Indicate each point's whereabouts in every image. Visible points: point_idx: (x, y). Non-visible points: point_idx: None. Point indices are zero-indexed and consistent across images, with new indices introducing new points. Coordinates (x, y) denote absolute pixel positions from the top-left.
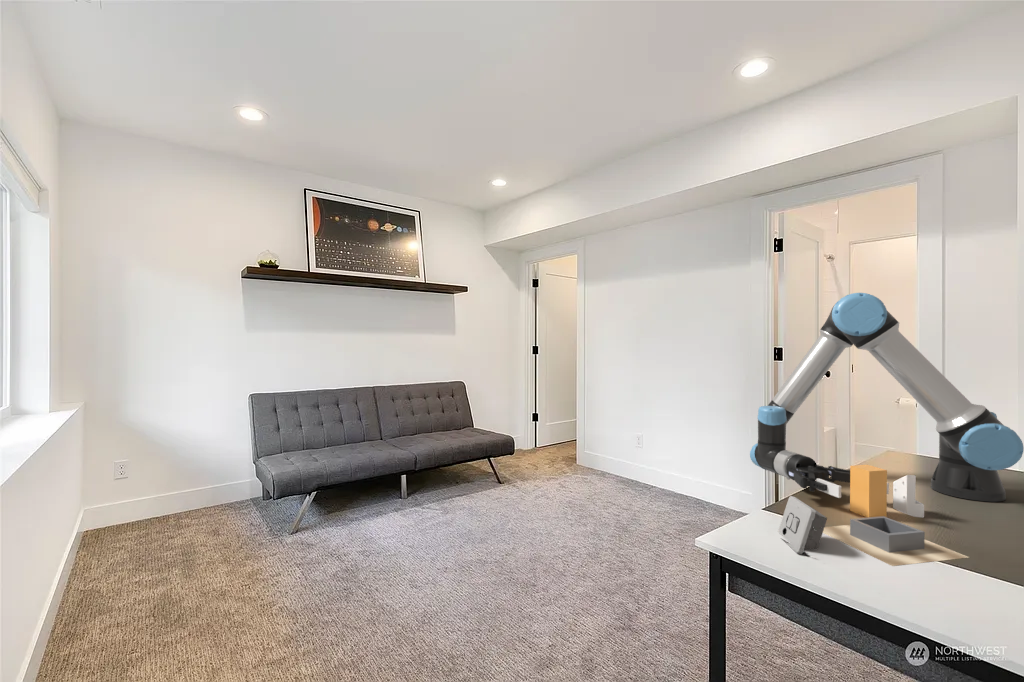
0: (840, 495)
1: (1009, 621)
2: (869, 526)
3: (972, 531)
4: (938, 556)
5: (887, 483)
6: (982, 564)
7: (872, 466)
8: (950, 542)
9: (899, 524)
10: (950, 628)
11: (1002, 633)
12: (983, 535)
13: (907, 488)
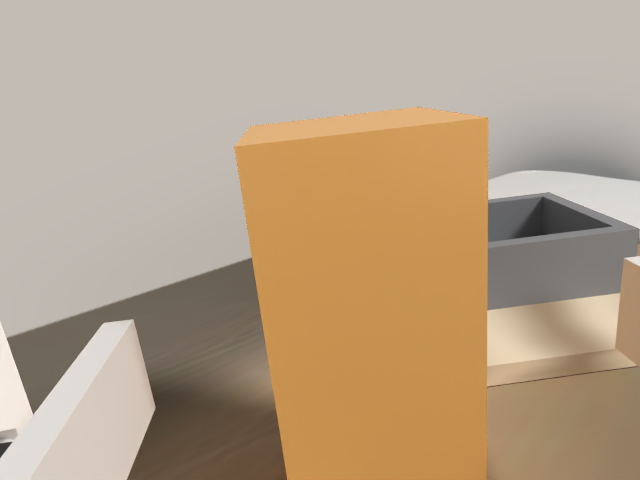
0: (624, 330)
1: None
2: (583, 209)
3: (50, 370)
4: None
5: (118, 324)
6: None
7: (255, 136)
8: None
9: None
10: (563, 178)
11: (500, 180)
12: (69, 349)
13: (6, 345)
